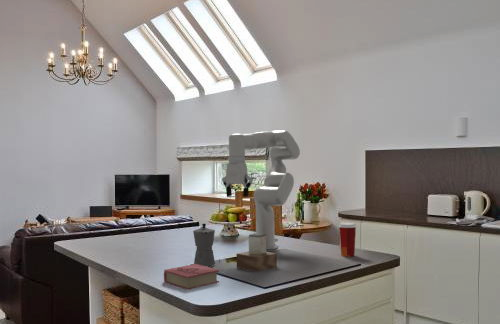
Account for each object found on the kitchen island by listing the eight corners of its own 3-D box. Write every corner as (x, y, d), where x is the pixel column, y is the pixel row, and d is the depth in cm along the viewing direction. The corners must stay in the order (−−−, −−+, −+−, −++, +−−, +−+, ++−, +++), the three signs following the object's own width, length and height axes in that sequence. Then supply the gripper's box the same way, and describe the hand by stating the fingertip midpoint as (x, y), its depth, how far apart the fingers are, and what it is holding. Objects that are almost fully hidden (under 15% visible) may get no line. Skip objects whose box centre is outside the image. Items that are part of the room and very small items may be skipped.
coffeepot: (217, 267, 196) (217, 225, 196) (195, 269, 193) (194, 225, 194) (212, 260, 211) (211, 220, 211) (191, 261, 208) (191, 221, 209)
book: (194, 276, 183) (194, 263, 183) (219, 283, 172) (219, 269, 172) (163, 282, 173) (163, 269, 173) (187, 290, 162) (187, 276, 162)
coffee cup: (357, 254, 221) (357, 222, 221) (355, 257, 213) (355, 224, 213) (339, 253, 224) (339, 222, 224) (337, 256, 216) (337, 224, 216)
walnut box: (257, 263, 205) (256, 249, 205) (276, 267, 196) (276, 253, 196) (236, 267, 196) (236, 253, 196) (256, 272, 188) (256, 257, 188)
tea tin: (255, 251, 200) (254, 233, 200) (266, 252, 198) (265, 233, 198) (248, 253, 196) (248, 234, 196) (260, 254, 193) (259, 235, 193)
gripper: (217, 160, 222) (218, 196, 222) (247, 159, 213) (248, 197, 212) (226, 160, 228) (227, 195, 228) (256, 159, 219) (257, 196, 219)
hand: (237, 196), depth 220 cm, fingers open, 9 cm apart
